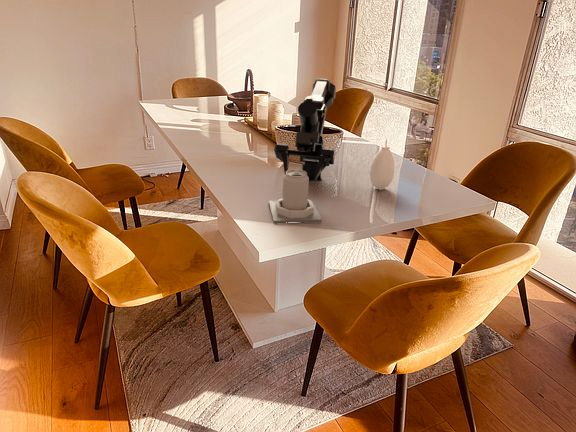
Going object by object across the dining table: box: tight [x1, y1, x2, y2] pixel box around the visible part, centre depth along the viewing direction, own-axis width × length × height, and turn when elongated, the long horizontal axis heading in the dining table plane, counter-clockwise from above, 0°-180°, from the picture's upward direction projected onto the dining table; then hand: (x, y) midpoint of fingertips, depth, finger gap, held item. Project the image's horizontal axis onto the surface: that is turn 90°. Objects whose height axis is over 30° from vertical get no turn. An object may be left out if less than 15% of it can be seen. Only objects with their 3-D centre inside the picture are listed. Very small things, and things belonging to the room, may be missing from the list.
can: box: [281, 168, 310, 210], centre depth 132 cm, size 8×8×12 cm
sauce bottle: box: [369, 138, 395, 190], centre depth 152 cm, size 8×8×18 cm
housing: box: [268, 197, 322, 224], centre depth 135 cm, size 14×14×3 cm
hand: (300, 178), depth 138 cm, fingers open, 9 cm apart
